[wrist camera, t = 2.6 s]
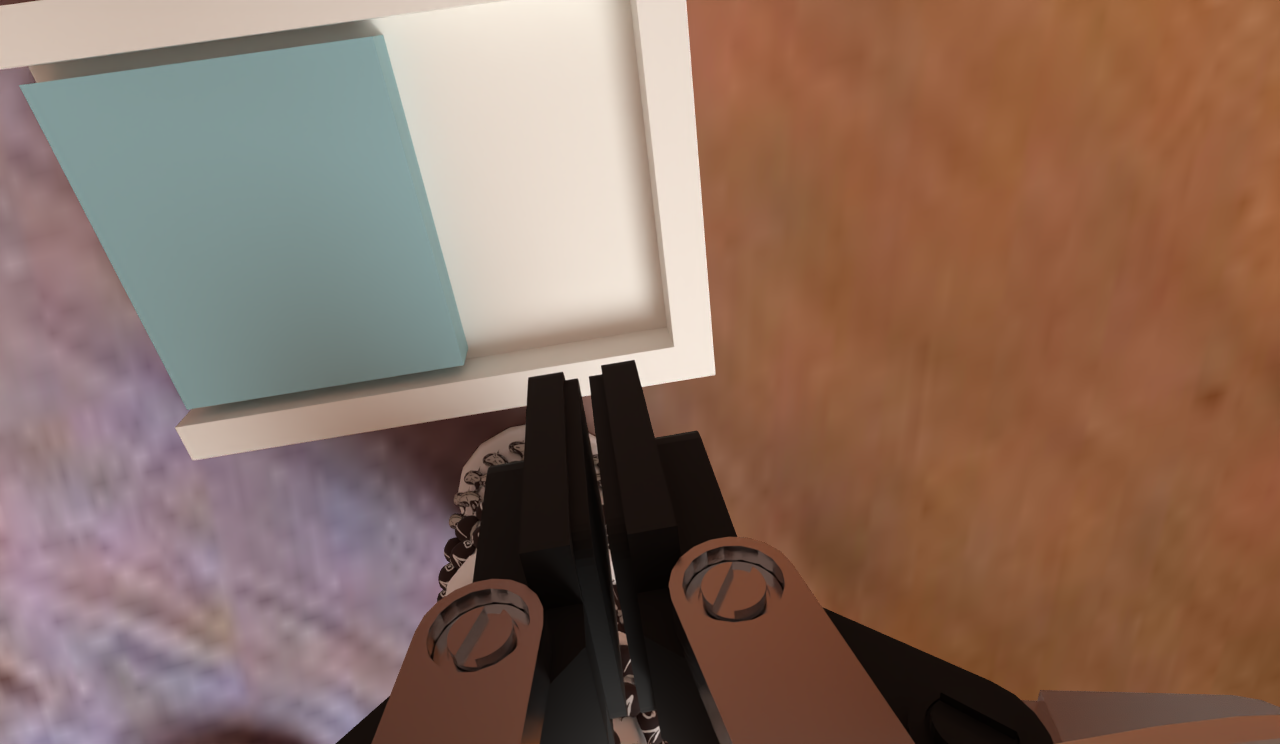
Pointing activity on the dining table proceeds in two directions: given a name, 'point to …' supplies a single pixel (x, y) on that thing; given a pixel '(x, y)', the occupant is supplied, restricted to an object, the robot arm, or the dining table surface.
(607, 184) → the white flat tray
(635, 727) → the decorative candle
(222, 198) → the cover plate
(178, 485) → the dining table surface
